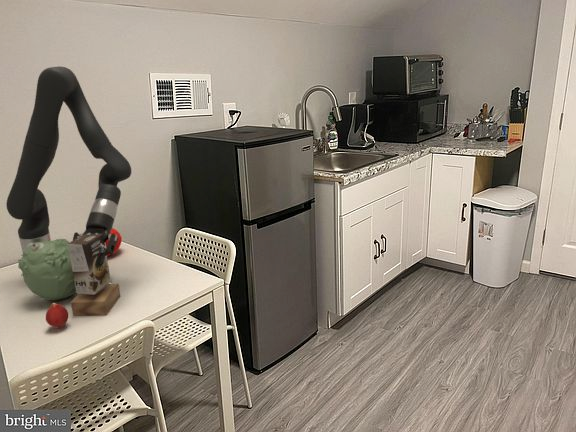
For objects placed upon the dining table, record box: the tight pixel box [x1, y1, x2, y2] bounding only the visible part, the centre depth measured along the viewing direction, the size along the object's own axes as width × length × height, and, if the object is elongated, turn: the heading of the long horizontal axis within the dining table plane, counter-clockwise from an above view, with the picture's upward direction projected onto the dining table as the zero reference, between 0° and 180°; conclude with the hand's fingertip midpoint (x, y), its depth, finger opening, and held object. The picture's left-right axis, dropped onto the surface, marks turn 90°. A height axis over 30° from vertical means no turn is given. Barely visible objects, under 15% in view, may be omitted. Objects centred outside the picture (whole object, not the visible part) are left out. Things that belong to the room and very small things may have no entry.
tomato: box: [105, 227, 122, 258], centre depth 184 cm, size 13×14×12 cm
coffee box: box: [68, 234, 112, 295], centre depth 141 cm, size 9×6×16 cm
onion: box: [45, 302, 69, 329], centre depth 132 cm, size 6×6×8 cm
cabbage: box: [17, 238, 77, 301], centre depth 149 cm, size 16×19×20 cm
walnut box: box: [70, 282, 122, 317], centre depth 144 cm, size 10×12×5 cm
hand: (87, 266), depth 139 cm, fingers closed on coffee box, 6 cm apart
